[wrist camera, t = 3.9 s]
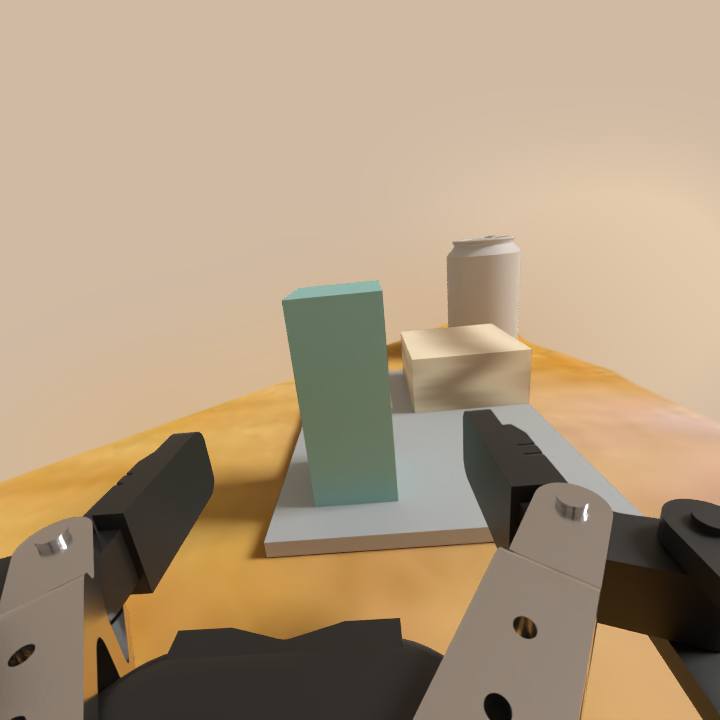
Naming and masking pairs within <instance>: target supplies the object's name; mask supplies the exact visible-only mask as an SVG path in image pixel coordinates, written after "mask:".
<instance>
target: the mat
mask: <svg viewBox="0 0 720 720" xmlns="http://www.w3.org/2000/svg"><path fill="white" fill-rule="evenodd" d="M389 385H390V398H391V411H392V423H393V436H394V449H395V462H396V475H397V488H398V501H394V502H380V503H367V504H353V505H340V506H326V507H315V501H314V495H313V489H312V483H311V476H310V470H309V464H308V458H307V452H306V446H305V440H304V434H303V427H302V429H301V432H300V435H299V438H298V441H297V444H296V447H295V450H294V453H293V456H292V459H291V462H290V465H289V468H288V471H287V474H286V477H285V480H284V483H283V486H282V490H281V493H280V496H279V499H278V502H277V505H276V508H275V511H274V514H273V517H272V520H271V523H270V526H269V529H268V532H267V535H266V538H265V541H264V546H265V550H266V555H267V557H280V556H294V555H309V554H323V553H337V552H352V551H366V550H381V549H395V548H410V547H424V546H438V545H453V544H467V543H482V542H494V540H493V537H492V535H491V533H490V530H489V528H488V526H487V523H486V521H485V519H484V516H483V514H482V512H481V509H480V507H479V505H478V502H477V500H476V498H475V495H474V493H473V491H472V488H471V486H470V484H469V481H468V479H467V476H466V473H465V468H464V461H463V414H464V411H472V410H484V409H491V410H492V412H493V413H494V414H495V416H496V417H497V418H498V420H499V421H500V422H501V424H502V425H505V424H512V425H514V426H515V427H517V428H519V429H521V430H522V431H524V432H526V433H527V434H528V436H529V437H530V438H531V439H532V440H533V441H534V443H535V445H537V446H538V447H539V449H540V450H541V451H542V454H544V455H545V456H546V457H547V458H548V459H549V461H550V462H551V463H552V464H553V465H554V466H555V468H556V469H557V470H558V471H559V472H560V474H561V475H562V476H563V477H564V478H565V480H566V481H567V482H568V483H569V484H574V485H578V486H581V487H584V488H586V489H589V490H591V491H593V492H595V493H596V494H598V495H599V496H601V497H602V498H603V499H604V500H605V501H606V502H607V503H608V504H609V505H610V507H611V509H612V511H614V512H618V513H624V514H630V515H637V516H643V515H642V514H641V513H640V512H639V511H638V510H637V509H636V508H635V507H634V506H633V505H632V504H631V503H630V502H629V501H628V500H627V499H626V498H625V497H624V496H623V495H622V494H621V493H620V492H619V491H618V490H617V489H616V488H615V487H614V486H613V485H612V484H611V483H610V482H609V481H608V480H607V479H606V478H605V477H604V476H603V475H602V474H601V473H599V472H598V471H597V470H596V469H595V468H594V467H593V466H592V465H591V464H590V463H589V462H588V461H587V460H586V459H585V458H584V457H583V456H582V455H581V454H580V453H579V452H578V451H577V450H576V449H575V448H574V447H573V446H572V445H571V444H570V443H569V442H568V441H567V440H566V439H565V438H564V437H563V436H562V435H561V434H560V433H559V432H558V431H557V430H556V429H554V428H553V427H552V426H551V425H550V424H549V423H548V422H547V421H546V420H545V419H544V418H543V417H542V416H541V415H540V414H539V413H538V412H537V411H536V410H535V409H534V408H533V407H532V406H531V405H530V404H518V405H506V406H494V407H482V408H470V409H458V410H446V411H434V412H422V413H415V411H414V408H413V405H412V401H411V398H410V395H409V391H408V388H407V385H406V382H405V378H404V375H403V370H402V371H390V372H389ZM643 517H644V516H643Z"/></svg>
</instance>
